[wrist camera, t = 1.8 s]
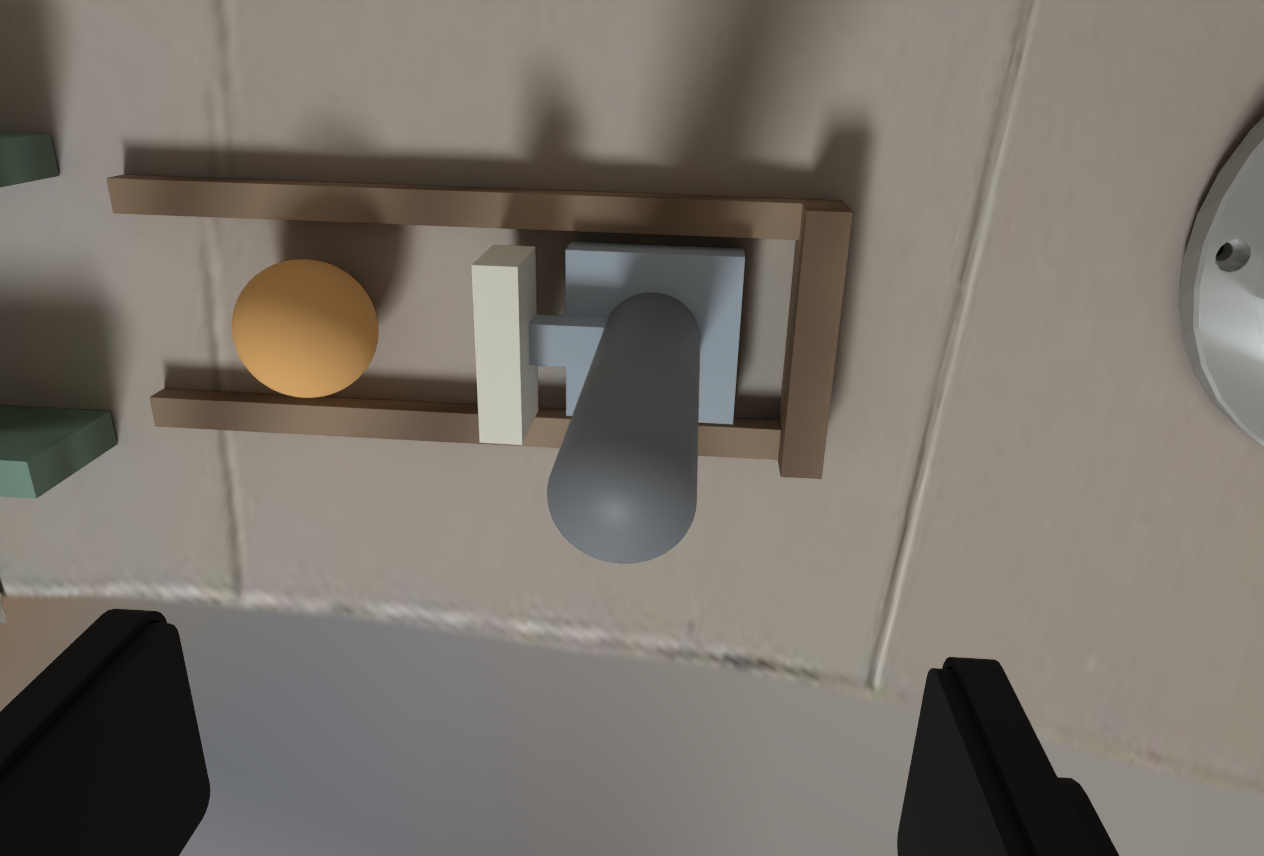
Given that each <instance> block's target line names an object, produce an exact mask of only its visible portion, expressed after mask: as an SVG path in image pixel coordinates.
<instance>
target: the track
mask: <svg viewBox="0 0 1264 856" xmlns="http://www.w3.org/2000/svg"><path fill="white" fill-rule="evenodd" d="M106 179H107V184H108V189H109V194H110V199H111V204H112V209H113V213H122V214H148V215H173V216H199V217H225V218H250V219H276V220H302V221H327V222H353V223H379V224H404V225H430V226H456V227H481V228H507V229H533V230H558V231H584V232H610V233H635V234H661V235H687V236H712V237H738V238H764V239H789V240H796V244H795V254H794V265H793V275H792V286H791V297H790V307H789V318H788V328H787V339H786V349H785V360H784V370H783V381H782V392H781V402H780V413H779V420H765V419H745V418H733V424H718V423H699V422H698V456H716V457H735V458H753V459H772V460H778V464H779V469H780V475H781V477H795V478H813V479H822V470H823V462H824V453H825V445H826V436H827V428H828V419H829V411H830V402H831V394H832V385H833V377H834V368H835V360H836V351H837V343H838V334H839V326H840V317H841V309H842V300H843V292H844V283H845V275H846V266H847V258H848V249H849V241H850V232H851V224H852V215H853V212H852V211H851V210H850V209H849V208H848V206H847V205H846V204H845V203H844V202H843V201H837V200H810V199H782V198H754V197H727V196H699V195H672V194H644V193H616V192H589V191H561V190H533V189H506V188H478V187H451V186H423V185H395V184H368V183H340V182H313V181H285V180H257V179H230V178H202V177H174V176H147V175H119V176H114V177H110V178H106ZM150 402H151V407H152V412H153V417H154V422H155V426H159V427H178V428H197V429H215V430H234V431H252V432H271V433H289V434H308V435H327V436H345V437H364V438H382V439H401V440H419V441H438V442H456V443H475V444H494V445H512V446H531V447H549V448H560V447H561V445H562V442H563V439H564V437H565V434H566V431H567V428H568V426H569V423H570V420H571V417H572V416H566V409H550V408H538V412H537V414H536V416H535V419H534V421H533V423H532V425H531V427H530V429H529V431H528V434H527V436H526V438H525V440H524V442H523V444H522V445H514V444H496V443H480V439H479V417H478V405H472V404H453V403H433V402H413V401H394V400H374V399H355V398H335V397H314V398H301V397H294V396H290V395H277V394H257V393H238V392H218V391H199V390H179V389H162V390H161V391H159V392H157V393H156V394H154V395H153V396H151V397H150Z"/></svg>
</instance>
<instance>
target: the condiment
mask: <svg viewBox="0 0 1264 856" xmlns="http://www.w3.org/2000/svg"><path fill="white" fill-rule="evenodd" d="M0 623H7V621H6V616H5V612H4V609H3V607H2V596H1V593H0Z"/></svg>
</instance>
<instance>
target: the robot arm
mask: <svg viewBox="0 0 1264 856" xmlns="http://www.w3.org/2000/svg"><path fill="white" fill-rule="evenodd" d="M1222 245H1224V250H1223V252H1222V253H1221V254H1220V255H1219V256H1217V257H1216V254H1217V252H1218V250H1219V249H1220V247H1221V246H1222ZM1179 309H1180V319H1181V330H1182V339H1183V342H1184V345H1185V348H1186V351H1187V354H1188V357H1189V360H1190V363H1191V366H1192V369H1193V372H1194V374H1195V376H1196V377H1197V379H1198V381H1199V382H1200V384H1201V385H1202V387H1203V388H1204V390H1205V392H1206V393H1207V395H1208V396H1209V398H1210V399H1211V401H1212V403H1213V404H1214V405H1215V406H1216V407H1217V408H1218V409H1219V410H1220V411H1221V412H1222V413H1223V414H1224V415H1225V416H1226V417H1227V418H1229V419H1230V420H1231V421H1232V422H1233V423H1234V424H1235V425H1236V426H1237V427H1238V428H1239V429H1240V430H1242V431H1243V432H1244V433H1246V434H1247V435H1249V436H1250V437H1251V438H1253V439H1254V440H1256V441H1257V442H1258V443H1260V444H1261V445H1263V446H1264V117H1263V118H1262V119H1261V120H1260V121H1259V122H1258V123H1257V124H1256V125H1255V126H1254V127H1253V128H1252V129H1251V130H1250V131H1249V133H1248V134H1247V135H1246V137H1245V138H1244V139H1243V141H1242V142H1241V143H1240V145H1239V146H1238V147H1237V149H1236V150H1235V151H1234V153H1233V154H1232V155H1231V157H1230V158H1229V160H1228V161H1227V162H1226V164H1225V165H1224V166H1223V168H1222V169H1221V170H1220V172H1219V174H1218V176H1217V177H1216V179H1215V181H1214V183H1213V185H1212V187H1211V189H1210V191H1209V193H1208V195H1207V197H1206V199H1205V201H1204V203H1203V205H1202V206H1201V208H1200V210H1199V212H1198V214H1197V217H1196V220H1195V223H1194V226H1193V229H1192V233H1191V236H1190V239H1189V242H1188V245H1187V249H1186V252H1185V255H1184V258H1183V266H1182V275H1181V284H1180V293H1179ZM209 799H210V783H209V779H208V774H207V769H206V764H205V759H204V754H203V749H202V744H201V739H200V735H199V730H198V725H197V720H196V715H195V710H194V706H193V700H192V695H191V690H190V686H189V681H188V676H187V671H186V666H185V661H184V656H183V651H182V647H181V642H180V637H179V633H178V630H177V628H176V627H175V626H174V625H172V624H167V621H166V619H165V617H164V616H163V615H162V614H161V613H160V612H157V611H144V610H126V609H112V610H108V611H107V612H105V613H104V614H102V615H101V616H100V617H99V618H98V619H97V620H96V621H95V622H94V623H93V624H92V625H91V626H90V627H89V628H88V629H86V630H85V632H83V634H81V635H80V636H79V637H78V638H77V639H76V640H75V641H74V642H73V643H72V644H71V645H70V646H69V647H68V648H67V649H66V650H64V651H63V653H61V654H60V655H59V656H58V657H57V658H56V659H55V660H54V661H53V662H52V663H51V664H50V665H49V666H48V667H47V668H46V669H45V670H44V671H43V672H42V673H40V674H39V675H38V676H37V677H36V678H35V679H34V680H33V681H32V682H31V683H30V684H29V685H28V686H27V687H26V688H25V689H24V690H23V691H22V692H20V694H18V695H17V696H16V697H15V698H14V699H13V700H12V701H11V702H10V703H9V704H8V705H7V706H6V707H5V708H4V709H3V710H2V711H1V712H0V856H179V855H180V853H181V852H182V850H183V848H184V847H185V845H186V844H187V842H188V841H189V839H190V837H191V836H192V834H193V833H194V831H195V830H196V828H197V826H198V825H199V823H200V822H201V820H202V818H203V817H204V815H205V813H206V810H207V807H208V803H209ZM897 847H898V856H1119V854H1118V853H1117V851H1116V849H1115V847H1114V845H1113V843H1112V842H1111V839H1110V837H1109V836H1108V834H1107V832H1106V830H1105V828H1104V826H1103V824H1102V822H1101V821H1100V819H1099V817H1098V815H1097V813H1096V811H1095V809H1094V807H1093V805H1092V803H1091V802H1090V800H1089V798H1088V796H1087V794H1086V793H1085V791H1084V790H1083V788H1082V787H1081V785H1080V784H1079V783H1077V782H1076V781H1075V780H1073V779H1072V778H1059V777H1057V776H1056V774H1055V772H1054V770H1053V768H1052V766H1051V764H1050V762H1049V760H1048V758H1047V756H1046V754H1045V752H1044V750H1043V748H1042V746H1041V744H1040V742H1039V740H1038V738H1037V736H1036V734H1035V732H1034V730H1033V728H1032V726H1031V724H1030V722H1029V720H1028V718H1027V716H1026V714H1025V712H1024V710H1023V708H1022V706H1021V704H1020V702H1019V700H1018V698H1017V696H1016V694H1015V692H1014V690H1013V688H1012V686H1011V684H1010V682H1009V680H1008V678H1007V676H1006V674H1005V672H1004V670H1003V668H1002V666H1001V665H1000V663H999V662H998V661H996V660H991V659H974V658H957V657H949V658H947V659H946V660H945V662H944V664H943V668H942V669H936V668H932V669H930V670H929V672H928V675H927V679H926V684H925V689H924V695H923V700H922V706H921V711H920V716H919V722H918V728H917V733H916V738H915V744H914V749H913V754H912V760H911V765H910V771H909V776H908V781H907V787H906V792H905V798H904V803H903V808H902V814H901V820H900V825H899V830H898V840H897Z"/></svg>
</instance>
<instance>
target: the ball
mask: <svg viewBox="0 0 1264 856" xmlns="http://www.w3.org/2000/svg"><path fill="white" fill-rule="evenodd" d="M232 335H233V340H234V345H235V347H236V350H237V353H238V355H239V357H240V359H241V360H242V362H243V364H244V365H245V367H246V368H247V369H248V370H249V371H250V373H251V374H252V375H253V376H254V377H255V378H256V379H258V380H259V381H260V382H261V383H263V384H264V385H266V386H267V387H269V388H271V389H273V390H275V391H277V392H280V393H282V394H286V395H290V396H294V397H301V398H314V397H322V396H326V395H330V394H333V393H336V392H338V391H340V390H343V389H344V388H346V387H347V386H349V385H350V384H352V383H353V382H354V381H356V380H357V379H358V378H359V377H360V376H361V375H362V374H363V372H364V371H365V370H366V369H367V367H368V366H369V364H370V362H371V360H372V358H373V356H374V353H375V351H376V347H377V343H378V320H377V315H376V311H375V308H374V306H373V303H372V301H371V299H370V297H369V296H368V294H367V293H366V291H365V290H364V288H363V287H362V286H361V285H360V284H359V283H358V282H357V281H356V280H355V279H354V278H353V277H352V276H351V275H349V274H348V273H346V272H345V271H343V270H342V269H340V268H338V267H336V266H334V265H331V264H328V263H325V262H322V261H317V260H311V259H294V260H288V261H283V262H280V263H277V264H274V265H272V266H270V267H268V268H266V269H264V270H263V271H261V272H260V273H259V274H257V275H256V276H254V277H253V278H252V279H251V280H250V281H249V282H248V284H247V285H246V286H245V288H244V289H243V290H242V292H241V294H240V295H239V297H238V299H237V302H236V305H235V308H234V311H233V316H232Z"/></svg>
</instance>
